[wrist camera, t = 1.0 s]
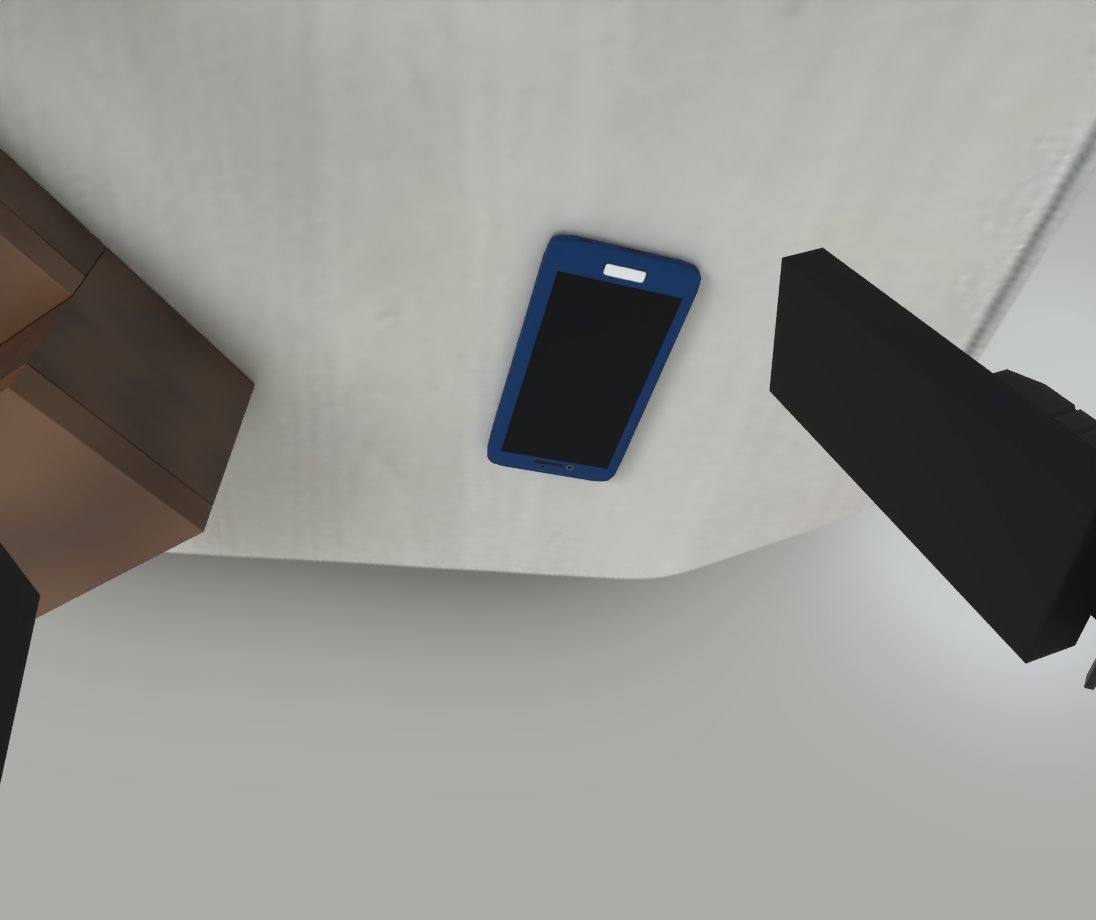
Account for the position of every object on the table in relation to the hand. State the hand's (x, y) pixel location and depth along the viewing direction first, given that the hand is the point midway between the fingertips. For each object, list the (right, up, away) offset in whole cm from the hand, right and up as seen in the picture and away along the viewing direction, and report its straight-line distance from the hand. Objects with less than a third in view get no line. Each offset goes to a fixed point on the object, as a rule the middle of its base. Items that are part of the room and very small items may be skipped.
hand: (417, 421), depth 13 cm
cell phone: (+4, +4, +28) cm, 29 cm away
